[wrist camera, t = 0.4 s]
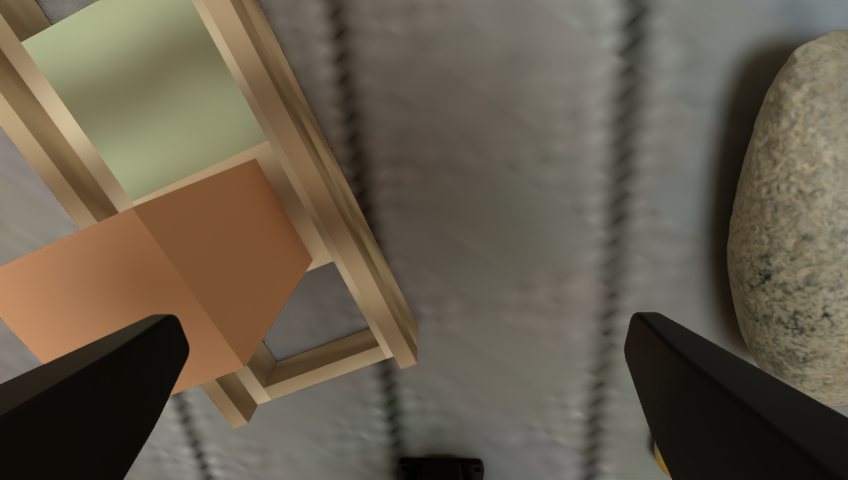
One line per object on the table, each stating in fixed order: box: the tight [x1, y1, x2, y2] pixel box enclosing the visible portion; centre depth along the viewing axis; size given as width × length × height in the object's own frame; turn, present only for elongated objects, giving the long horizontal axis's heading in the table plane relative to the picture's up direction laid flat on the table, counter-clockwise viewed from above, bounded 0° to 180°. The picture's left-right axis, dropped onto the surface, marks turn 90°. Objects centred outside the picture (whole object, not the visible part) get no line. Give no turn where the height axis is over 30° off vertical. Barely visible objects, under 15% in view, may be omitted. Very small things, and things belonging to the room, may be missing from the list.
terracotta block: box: [0, 158, 313, 395], centre depth 17 cm, size 6×6×9 cm
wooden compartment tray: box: [0, 0, 417, 428], centre depth 20 cm, size 30×12×4 cm, turn 23°
